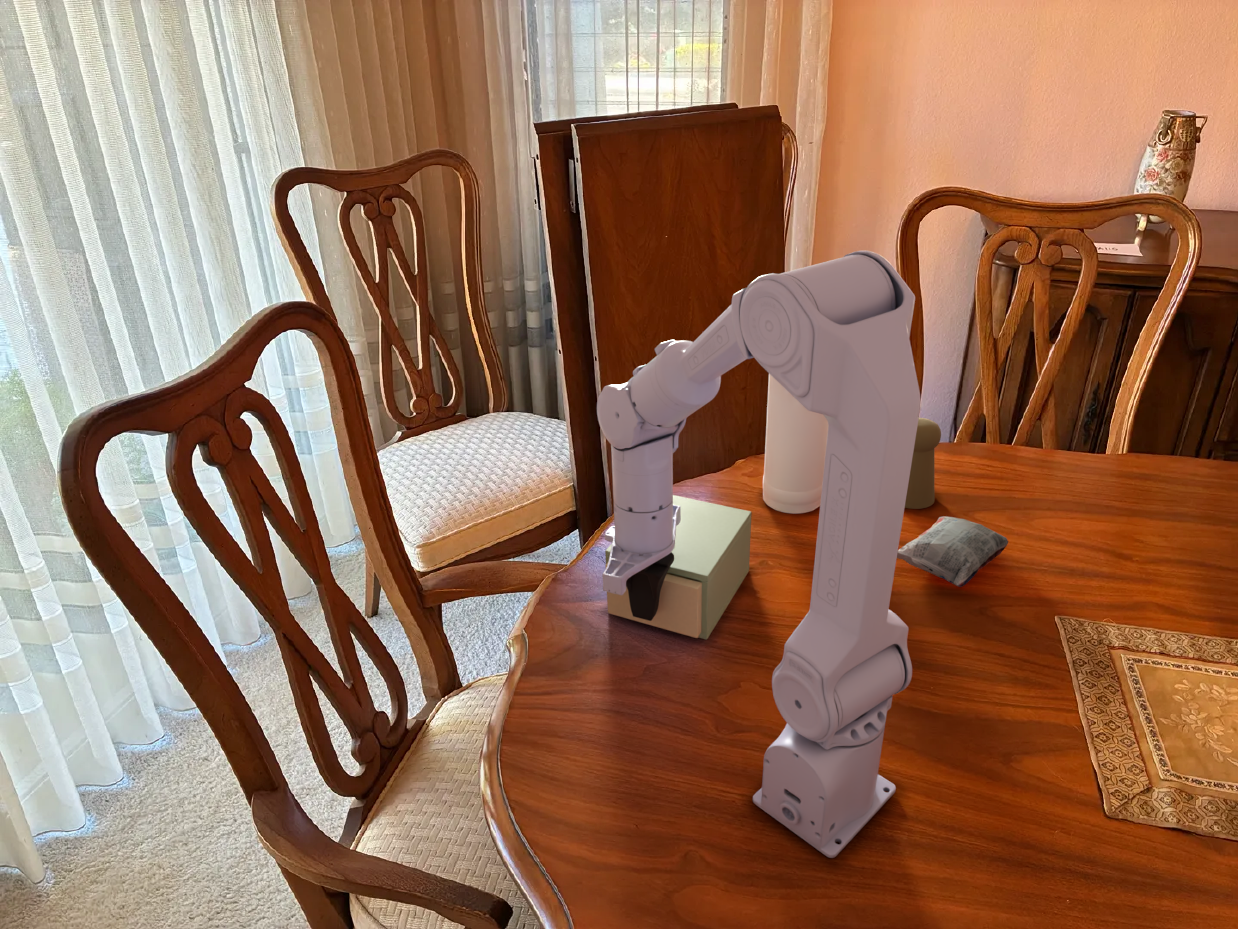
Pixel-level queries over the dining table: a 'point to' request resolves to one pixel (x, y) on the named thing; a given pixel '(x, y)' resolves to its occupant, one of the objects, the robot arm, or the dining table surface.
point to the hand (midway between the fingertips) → (645, 614)
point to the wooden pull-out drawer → (668, 606)
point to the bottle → (793, 453)
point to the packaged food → (953, 549)
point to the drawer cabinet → (711, 553)
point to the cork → (923, 465)
